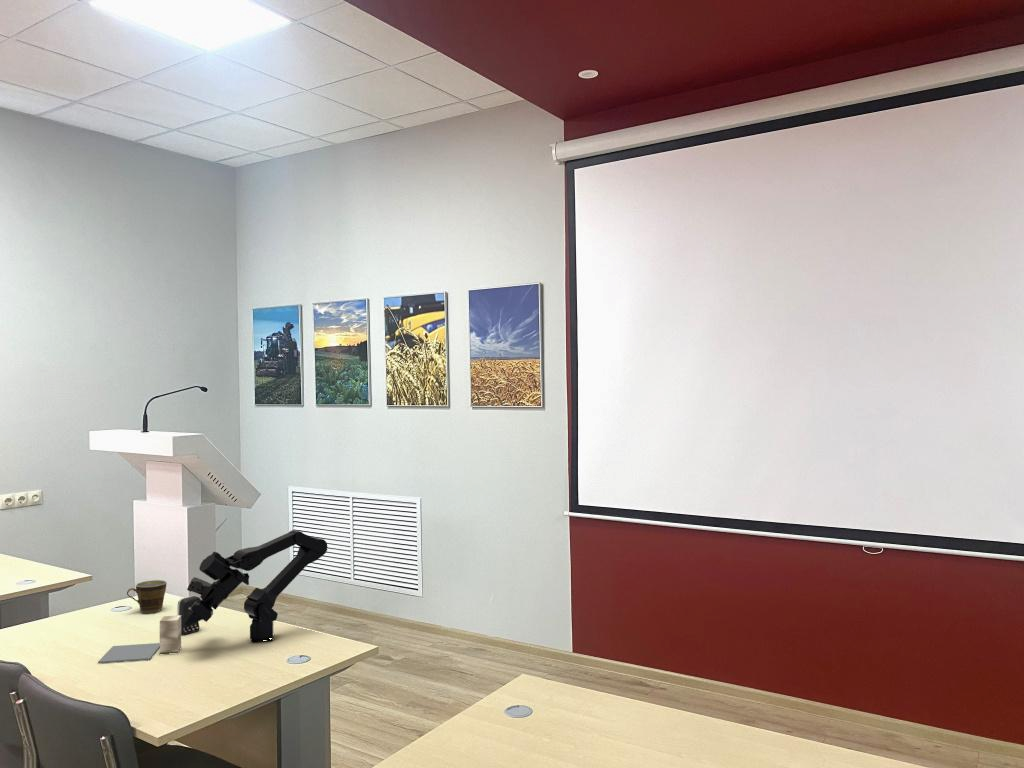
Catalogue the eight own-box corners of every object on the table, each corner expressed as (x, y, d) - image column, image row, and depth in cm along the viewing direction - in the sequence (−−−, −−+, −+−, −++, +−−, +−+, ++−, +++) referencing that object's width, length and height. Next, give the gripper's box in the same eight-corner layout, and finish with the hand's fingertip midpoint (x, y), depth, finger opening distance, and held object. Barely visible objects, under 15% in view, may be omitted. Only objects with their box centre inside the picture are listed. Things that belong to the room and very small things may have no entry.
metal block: (181, 648, 233) (181, 615, 233) (177, 653, 228) (177, 620, 228) (163, 649, 232) (163, 616, 232) (159, 654, 227) (159, 621, 227)
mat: (161, 644, 236) (161, 642, 236) (150, 660, 222) (150, 658, 222) (112, 647, 233) (112, 645, 233) (97, 663, 219) (97, 661, 219)
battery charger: (183, 636, 244) (183, 600, 244) (176, 634, 246) (176, 599, 246) (203, 630, 250) (203, 595, 250) (195, 628, 252) (196, 594, 252)
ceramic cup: (161, 606, 279) (162, 578, 279) (170, 612, 271) (170, 583, 272) (123, 612, 271) (123, 584, 271) (130, 619, 263) (130, 590, 263)
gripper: (210, 562, 241) (172, 599, 238) (199, 575, 223) (158, 615, 220) (236, 585, 243) (199, 622, 240) (227, 601, 224) (187, 641, 222)
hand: (185, 624), depth 230 cm, fingers closed
